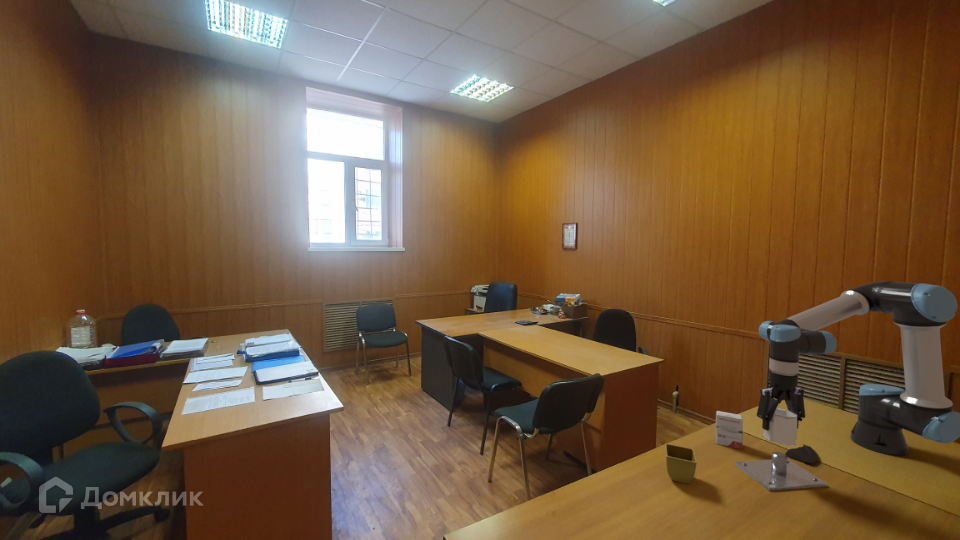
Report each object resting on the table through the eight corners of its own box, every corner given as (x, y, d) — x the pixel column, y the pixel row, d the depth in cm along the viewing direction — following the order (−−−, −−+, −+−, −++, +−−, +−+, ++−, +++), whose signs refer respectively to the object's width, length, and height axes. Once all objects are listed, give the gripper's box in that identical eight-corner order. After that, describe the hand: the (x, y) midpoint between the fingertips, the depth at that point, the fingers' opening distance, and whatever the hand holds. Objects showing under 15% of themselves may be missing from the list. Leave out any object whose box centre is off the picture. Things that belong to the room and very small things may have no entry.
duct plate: (787, 461, 132) (787, 442, 132) (826, 486, 118) (828, 465, 118) (735, 464, 131) (735, 445, 130) (769, 490, 117) (770, 469, 116)
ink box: (741, 443, 144) (742, 414, 143) (742, 449, 140) (743, 419, 139) (715, 438, 149) (716, 409, 148) (715, 443, 144) (716, 414, 144)
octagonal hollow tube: (780, 432, 128) (781, 407, 127) (802, 444, 120) (803, 418, 119) (758, 433, 127) (759, 408, 127) (779, 446, 119) (780, 419, 119)
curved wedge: (825, 456, 136) (826, 451, 136) (812, 468, 129) (812, 463, 129) (797, 445, 143) (797, 441, 143) (782, 456, 136) (783, 452, 136)
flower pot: (693, 474, 126) (694, 448, 125) (696, 489, 118) (696, 462, 117) (664, 467, 129) (665, 443, 129) (665, 482, 121) (666, 456, 121)
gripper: (801, 367, 127) (797, 431, 128) (744, 369, 125) (741, 434, 126) (823, 374, 119) (819, 442, 121) (763, 377, 117) (760, 445, 119)
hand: (779, 438), depth 124 cm, fingers closed on octagonal hollow tube, 8 cm apart
